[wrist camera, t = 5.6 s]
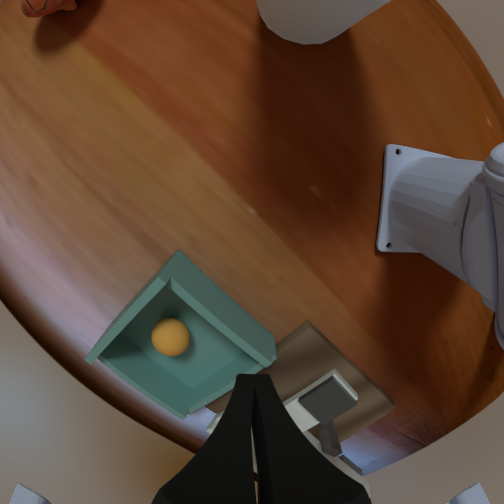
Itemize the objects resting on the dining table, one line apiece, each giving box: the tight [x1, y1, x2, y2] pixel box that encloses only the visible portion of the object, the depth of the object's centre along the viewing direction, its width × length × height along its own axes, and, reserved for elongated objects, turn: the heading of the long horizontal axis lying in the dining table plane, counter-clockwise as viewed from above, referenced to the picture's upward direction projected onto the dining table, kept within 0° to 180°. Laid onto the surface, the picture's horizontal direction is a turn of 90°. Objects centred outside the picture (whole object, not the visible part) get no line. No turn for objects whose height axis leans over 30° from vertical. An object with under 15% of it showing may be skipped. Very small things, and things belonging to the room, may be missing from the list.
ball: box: [151, 318, 190, 356], centre depth 20 cm, size 3×3×3 cm
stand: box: [205, 321, 396, 457], centre depth 22 cm, size 17×13×8 cm
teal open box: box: [85, 249, 277, 419], centre depth 20 cm, size 10×10×5 cm
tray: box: [206, 369, 371, 497], centre depth 19 cm, size 16×11×5 cm, turn 44°
